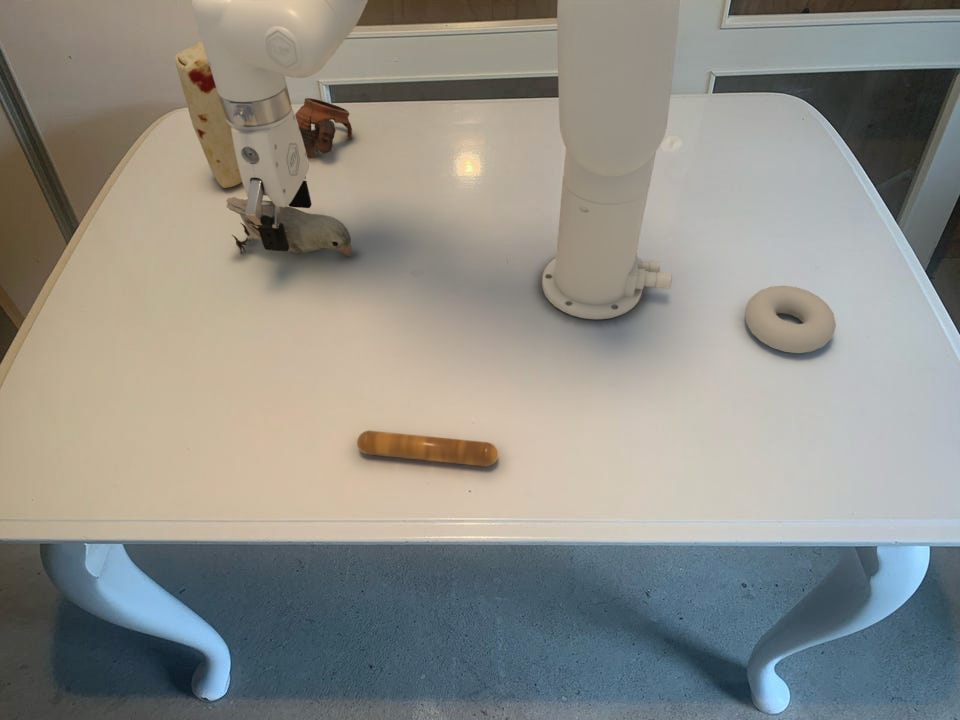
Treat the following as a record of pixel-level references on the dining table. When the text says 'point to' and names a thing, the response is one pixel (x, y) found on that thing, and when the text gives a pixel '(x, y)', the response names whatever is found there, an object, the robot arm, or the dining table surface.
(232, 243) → the dining table surface
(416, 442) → the polished stone stick
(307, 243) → the decorative bird
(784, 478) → the dining table surface
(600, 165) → the robot arm
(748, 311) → the donut
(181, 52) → the food model
